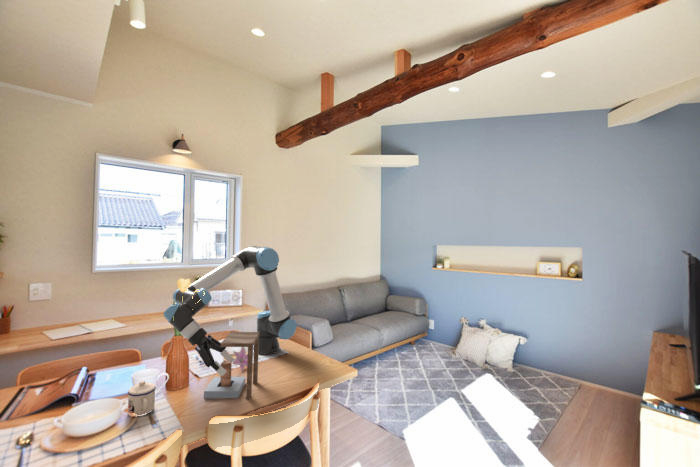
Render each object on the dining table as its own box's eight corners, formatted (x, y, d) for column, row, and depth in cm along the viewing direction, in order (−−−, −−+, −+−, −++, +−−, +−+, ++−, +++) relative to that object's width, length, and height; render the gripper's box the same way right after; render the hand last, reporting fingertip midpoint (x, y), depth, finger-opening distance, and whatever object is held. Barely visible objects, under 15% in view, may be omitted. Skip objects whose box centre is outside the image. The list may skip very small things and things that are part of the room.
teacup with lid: (125, 410, 129) (126, 380, 129) (152, 403, 135) (153, 374, 135) (130, 424, 120) (131, 392, 120) (159, 416, 126) (160, 385, 126)
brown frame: (229, 382, 156) (230, 331, 156) (257, 382, 157) (259, 332, 157) (218, 399, 140) (220, 343, 140) (250, 399, 141) (252, 343, 141)
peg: (221, 388, 150) (222, 361, 150) (231, 388, 150) (232, 361, 150) (218, 392, 146) (219, 365, 145) (229, 392, 146) (230, 365, 146)
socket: (214, 383, 154) (214, 376, 154) (245, 383, 156) (245, 376, 156) (203, 398, 140) (203, 391, 140) (237, 398, 142) (238, 391, 142)
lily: (227, 376, 165) (236, 360, 163) (223, 359, 174) (232, 344, 173) (249, 377, 172) (258, 362, 171) (244, 361, 181) (253, 347, 180)
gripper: (198, 330, 159) (229, 362, 160) (175, 349, 134) (213, 386, 135) (210, 319, 159) (241, 351, 160) (189, 336, 134) (227, 373, 136)
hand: (228, 367), depth 148 cm, fingers open, 13 cm apart
